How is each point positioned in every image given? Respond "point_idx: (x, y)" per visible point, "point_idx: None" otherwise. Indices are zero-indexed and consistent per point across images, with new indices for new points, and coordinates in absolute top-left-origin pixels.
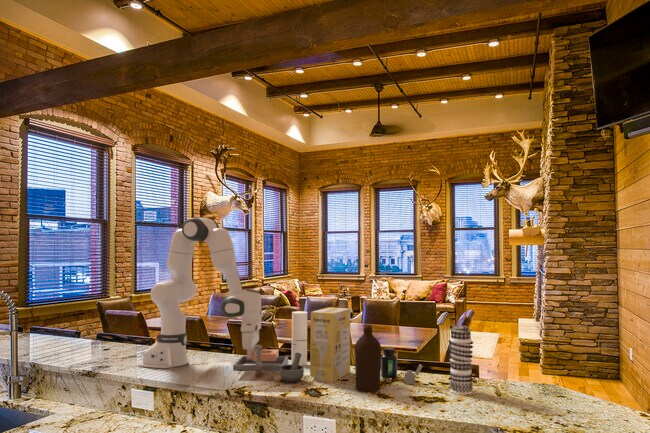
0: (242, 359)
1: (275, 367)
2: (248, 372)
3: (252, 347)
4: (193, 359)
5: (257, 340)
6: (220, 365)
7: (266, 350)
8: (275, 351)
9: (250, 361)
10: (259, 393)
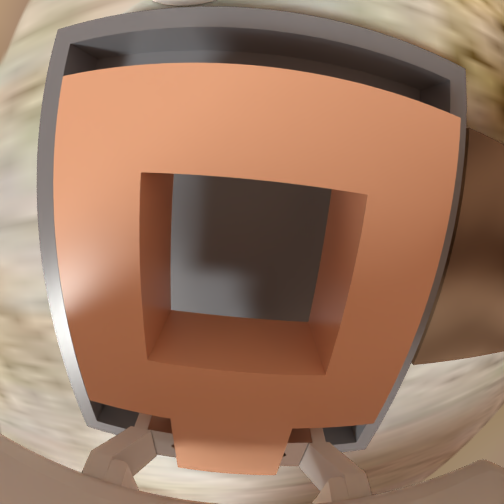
0: (133, 419)
1: None
2: (444, 338)
3: (415, 486)
4: None
5: (33, 479)
6: (173, 466)
7: (131, 288)
8: (223, 98)
9: None
10: None
